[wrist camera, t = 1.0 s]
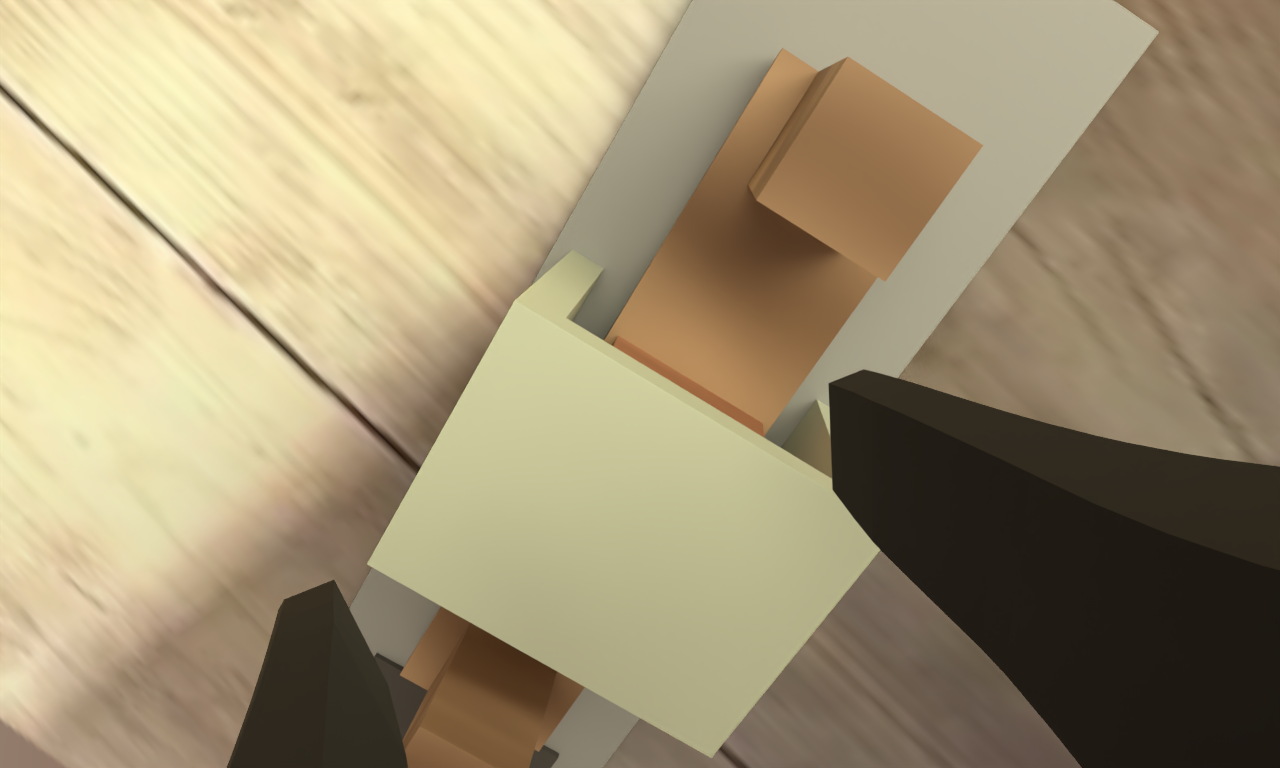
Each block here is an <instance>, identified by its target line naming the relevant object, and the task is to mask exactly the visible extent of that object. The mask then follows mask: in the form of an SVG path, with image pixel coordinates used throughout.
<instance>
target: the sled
mask: <svg viewBox="0 0 1280 768" xmlns="http://www.w3.org/2000/svg"><path fill="white" fill-rule="evenodd" d="M982 147H983V145H982V144H980V143H979V142H977V141H976V140H974V139H973V138H971V137H970V136H968V135H967V134H965V133H964V132H962V131H961V130H959V129H958V128H956V127H955V126H953V125H952V124H950V123H948V122H947V121H945V120H944V119H942V118H941V117H939V116H938V115H936V114H935V113H933V112H932V111H930V110H929V109H927V108H926V107H924V106H923V105H921V104H920V103H918V102H917V101H915V100H914V99H912V98H911V97H909V96H907V95H906V94H904V93H903V92H901V91H900V90H898V89H897V88H895V87H894V86H892V85H891V84H889V83H888V82H886V81H885V80H883V79H882V78H880V77H879V76H877V75H876V74H874V73H873V72H871V71H870V70H868V69H866V68H865V67H863V66H862V65H860V64H859V63H857V62H856V61H854V60H853V59H851V58H850V57H846V58H844V59H842V60H840V61H838V62H836V63H834V64H832V65H830V66H829V67H827V68H825V69H823V70H821V71H817V70H816V69H814V68H813V67H811V66H810V65H808V64H807V63H805V62H804V61H802V60H800V59H799V58H797V57H796V56H794V55H793V54H791V53H790V52H788V51H787V50H785V49H784V48H782V50H781V51H780V52H779V53H778V55H777V57H776V58H775V60H774V62H773V63H772V65H771V66H770V68H769V70H768V71H767V73H766V75H765V76H764V78H763V80H762V81H761V83H760V84H759V86H758V88H757V89H756V91H755V93H754V94H753V96H752V98H751V99H750V101H749V102H748V104H747V106H746V107H745V109H744V111H743V112H742V114H741V116H740V117H739V119H738V120H737V122H736V124H735V125H734V127H733V129H732V130H731V132H730V134H729V135H728V137H727V138H726V140H725V142H724V143H723V145H722V147H721V148H720V150H719V152H718V153H717V155H716V156H715V158H714V160H713V161H712V163H711V165H710V166H709V168H708V170H707V171H706V173H705V174H704V176H703V178H702V179H701V181H700V183H699V184H698V186H697V188H696V189H695V191H694V193H693V194H692V196H691V197H690V199H689V201H688V202H687V204H686V206H685V207H684V209H683V211H682V212H681V214H680V215H679V217H678V219H677V220H676V222H675V224H674V225H673V227H672V229H671V230H670V232H669V233H668V235H667V237H666V238H665V240H664V242H663V243H662V245H661V247H660V248H659V250H658V251H657V253H656V255H655V256H654V258H653V260H652V261H651V263H650V265H649V266H648V268H647V269H646V271H645V273H644V274H643V276H642V278H641V279H640V281H639V283H638V284H637V286H636V287H635V289H634V291H633V292H632V294H631V296H630V297H629V299H628V301H627V302H626V304H625V306H624V307H623V309H622V310H621V312H620V314H619V315H618V317H617V319H616V320H615V322H614V324H613V325H612V327H611V328H610V330H609V332H608V333H607V335H606V337H605V338H604V341H605V342H607V343H608V344H610V345H612V346H613V347H615V348H617V349H618V350H620V351H622V352H623V353H625V354H627V355H628V356H630V357H632V358H633V359H635V360H637V361H638V362H640V363H642V364H643V365H645V366H646V367H648V368H650V369H651V370H653V371H655V372H656V373H658V374H660V375H661V376H663V377H665V378H666V379H668V380H670V381H671V382H673V383H675V384H676V385H678V386H679V387H681V388H683V389H684V390H686V391H688V392H689V393H691V394H693V395H694V396H696V397H698V398H699V399H701V400H703V401H704V402H706V403H708V404H709V405H711V406H713V407H714V408H716V409H717V410H719V411H721V412H722V413H724V414H726V415H727V416H729V417H731V418H732V419H734V420H736V421H737V422H739V423H741V424H742V425H744V426H746V427H747V428H749V429H751V430H752V431H754V432H755V433H757V434H759V435H760V436H762V437H764V436H765V434H766V433H767V432H768V430H769V429H770V427H771V426H772V425H773V423H774V422H775V420H776V419H777V418H778V416H779V415H780V413H781V412H782V411H783V409H784V408H785V406H786V405H787V404H788V402H789V401H790V399H791V398H792V397H793V395H794V394H795V392H796V391H797V390H798V388H799V387H800V385H801V384H802V383H803V381H804V380H805V378H806V377H807V376H808V374H809V373H810V371H811V370H812V369H813V367H814V366H815V364H816V363H817V362H818V360H819V359H820V357H821V356H822V355H823V353H824V352H825V350H826V349H827V348H828V346H829V345H830V343H831V342H832V341H833V339H834V338H835V336H836V335H837V334H838V332H839V331H840V329H841V328H842V327H843V325H844V324H845V322H846V321H847V320H848V318H849V317H850V315H851V314H852V313H853V311H854V310H855V308H856V307H857V306H858V304H859V303H860V301H861V300H862V299H863V297H864V296H865V294H866V293H867V292H868V290H869V289H870V287H871V286H872V285H873V283H874V282H875V280H876V279H877V278H880V279H881V280H883V281H886V280H887V279H888V277H889V276H890V274H891V273H892V272H893V270H894V269H895V268H896V266H897V265H898V263H899V262H900V261H901V259H902V258H903V256H904V255H905V254H906V252H907V251H908V249H909V248H910V247H911V245H912V244H913V242H914V241H915V240H916V238H917V237H918V236H919V234H920V233H921V231H922V230H923V229H924V227H925V226H926V224H927V223H928V222H929V220H930V219H931V217H932V216H933V215H934V213H935V212H936V210H937V209H938V208H939V206H940V205H941V204H942V202H943V201H944V199H945V198H946V197H947V195H948V194H949V192H950V191H951V190H952V188H953V187H954V185H955V184H956V183H957V181H958V180H959V179H960V177H961V176H962V174H963V173H964V172H965V170H966V169H967V167H968V166H969V165H970V163H971V162H972V160H973V159H974V158H975V156H976V155H977V153H978V152H979V151H980V149H981V148H982ZM764 438H765V437H764ZM400 676H402V677H404V678H406V679H408V680H409V681H411V682H413V683H415V684H417V685H419V686H420V687H422V688H424V689H426V690H428V691H427V693H426V695H425V697H424V699H423V701H422V703H421V705H420V707H419V709H418V711H417V713H416V715H415V717H414V719H413V721H412V723H411V725H410V727H409V729H408V731H407V733H406V735H405V737H404V739H403V740H402V741H403V745H404V749H405V753H406V757H407V764H408V768H529V766H530V763H531V759H532V756H533V752H534V750H536V751H538V752H539V751H540V749H541V748H542V747H543V745H544V744H545V742H546V741H547V740H548V738H549V737H550V735H551V734H552V733H553V731H554V730H555V728H556V727H557V726H558V724H559V723H560V721H561V720H562V719H563V717H564V716H565V714H566V713H567V712H568V710H569V709H570V707H571V706H572V705H573V703H574V702H575V700H576V699H577V698H578V696H579V695H580V693H581V692H582V691H583V689H584V688H585V687H584V686H582V685H580V684H579V683H577V682H575V681H573V680H572V679H570V678H568V677H566V676H564V675H563V674H561V673H559V672H557V671H556V670H554V669H552V668H550V667H548V666H547V665H545V664H543V663H541V662H540V661H538V660H536V659H534V658H532V657H531V656H529V655H527V654H525V653H524V652H522V651H520V650H518V649H516V648H515V647H513V646H511V645H509V644H508V643H506V642H504V641H502V640H500V639H499V638H497V637H495V636H493V635H492V634H490V633H488V632H486V631H484V630H483V629H481V628H479V627H477V626H476V625H474V624H472V623H470V622H468V621H467V620H465V619H463V618H461V617H460V616H458V615H456V614H454V613H452V612H451V611H449V610H447V609H445V608H444V607H442V606H441V607H440V608H439V610H438V612H437V613H436V615H435V617H434V618H433V620H432V622H431V623H430V625H429V626H428V628H427V630H426V631H425V633H424V635H423V636H422V638H421V640H420V641H419V643H418V644H417V646H416V648H415V649H414V651H413V653H412V654H411V656H410V658H409V660H408V661H407V663H406V665H405V667H404V668H403V670H402V672H401V674H400Z"/></svg>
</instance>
